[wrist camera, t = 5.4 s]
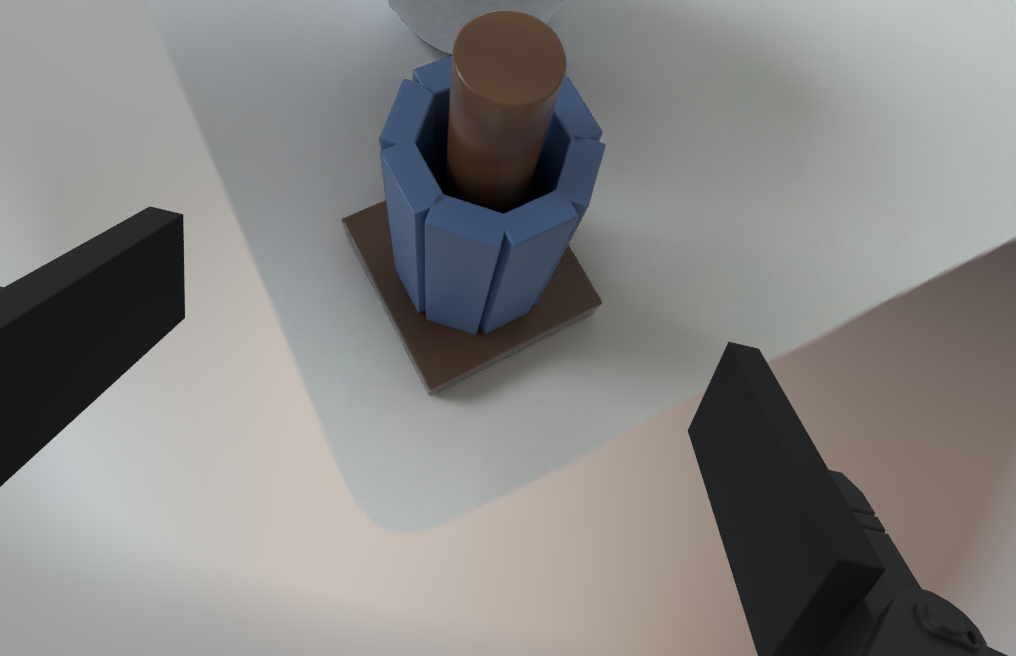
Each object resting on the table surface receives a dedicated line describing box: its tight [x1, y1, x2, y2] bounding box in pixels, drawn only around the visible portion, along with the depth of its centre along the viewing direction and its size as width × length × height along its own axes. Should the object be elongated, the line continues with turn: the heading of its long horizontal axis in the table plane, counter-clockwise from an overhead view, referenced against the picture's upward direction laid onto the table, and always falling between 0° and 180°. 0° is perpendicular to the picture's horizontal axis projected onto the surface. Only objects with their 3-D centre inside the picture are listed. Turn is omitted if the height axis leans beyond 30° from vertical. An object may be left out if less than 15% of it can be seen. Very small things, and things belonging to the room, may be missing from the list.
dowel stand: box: [342, 10, 602, 396], centre depth 21 cm, size 8×8×14 cm
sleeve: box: [379, 55, 605, 335], centre depth 22 cm, size 6×6×9 cm
